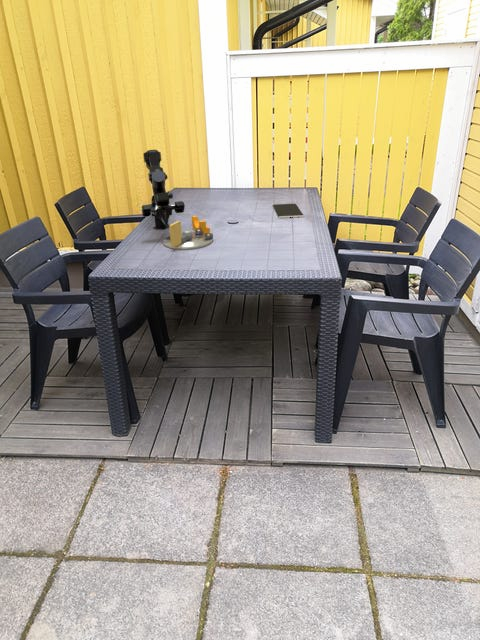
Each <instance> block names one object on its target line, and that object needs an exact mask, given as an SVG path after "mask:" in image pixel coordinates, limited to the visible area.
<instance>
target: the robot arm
mask: <svg viewBox="0 0 480 640" xmlns="http://www.w3.org/2000/svg"><path fill="white" fill-rule="evenodd" d="M143 162H144V163H145V166H146V168H147V170H148V171H149V172H148V174H147V175H148V181H149V182H150V184H151V188H152V189H151V190H152V193H153V195H152V196H151V201H150V204H142V206H141V214H142V217H143V218H145V217H154V226H152V228H153V229H156V230H157V229H159V230H165V229H167V228H169V225H170V224H169V219H170V216H172V215H173V211H174V213H176V214H182V213H184V212H185V206H186V205H185V202H184V201H183V200H179V201H178V200H177V201H174V204H171V205H170V200H172V199H173V198H174V193H173V190H167V189H166V181H167V180H168V179H169V178H168V174H166V172H164V168H163V167H161V162H162V153H161V152H160V151H158V149H148V150H147V151H145V152H143ZM166 190H167V191H166Z"/></svg>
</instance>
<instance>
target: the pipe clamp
mask: <svg viewBox="0 0 480 640" xmlns="http://www.w3.org/2000/svg"><path fill="white" fill-rule="evenodd" d="M191 225H192V230H193V231H194V232H195V229H198V228H201V229H203V233H205V234H206V233H211V228H210V227H209V226H208V225H207V221H206V220H199V216H198V215H194V216H191Z"/></svg>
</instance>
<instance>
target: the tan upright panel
mask: <svg viewBox="0 0 480 640" xmlns="http://www.w3.org/2000/svg"><path fill="white" fill-rule="evenodd" d="M168 225H169V226H168V228H169V236H170V239H171V247H175V246H177V245H179V244H181V243H183V242H185V241H187V240H191V239H193V235H192V232H193V231H190V230H185V231H184V232H182V224H181V220H176V221H175V222H173V223H171V224H168ZM182 234H183V236H182Z"/></svg>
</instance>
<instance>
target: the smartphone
mask: <svg viewBox="0 0 480 640" xmlns="http://www.w3.org/2000/svg"><path fill="white" fill-rule="evenodd" d="M272 209H273V210H274V212H275V214H276V216H277V218H278V219H279V220H280V219H281V220H282V219H284V220H285V219H291V218H292V219H298V218H300V219H302V218H305V215H304V214H303V212H302V210H301V209H300V207H299V206H298V205H297V203H277V204H276V203H275V204H274V203H273V205H272ZM290 217H291V218H290Z"/></svg>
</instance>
